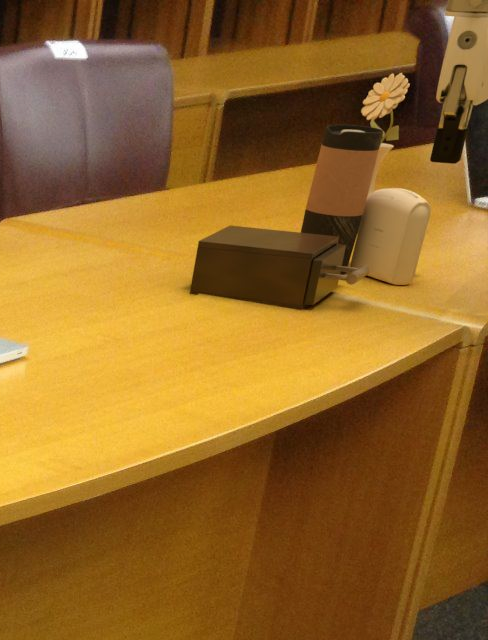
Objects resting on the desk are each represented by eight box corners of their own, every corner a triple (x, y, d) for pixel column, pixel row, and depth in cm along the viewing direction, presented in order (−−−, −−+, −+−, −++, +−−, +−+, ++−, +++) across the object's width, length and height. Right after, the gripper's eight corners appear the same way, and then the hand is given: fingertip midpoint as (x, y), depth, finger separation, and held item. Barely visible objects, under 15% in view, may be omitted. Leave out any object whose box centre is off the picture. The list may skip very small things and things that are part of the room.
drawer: (369, 291, 208) (378, 248, 206) (346, 309, 199) (356, 264, 196) (236, 275, 218) (244, 234, 215) (208, 292, 208) (216, 248, 206)
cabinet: (327, 292, 212) (339, 236, 209) (300, 311, 202) (312, 253, 198) (219, 279, 220) (229, 225, 217) (188, 297, 209) (198, 240, 206)
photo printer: (343, 269, 225) (365, 182, 219) (368, 269, 226) (391, 182, 220) (390, 286, 216) (414, 196, 210) (416, 285, 217) (441, 196, 211)
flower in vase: (311, 222, 260) (349, 65, 248) (382, 226, 258) (424, 68, 246) (328, 237, 249) (368, 74, 237) (403, 242, 247) (447, 77, 235)
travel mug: (345, 268, 226) (381, 126, 217) (349, 279, 220) (387, 134, 211) (289, 263, 229) (323, 122, 219) (292, 274, 222) (327, 130, 213)
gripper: (507, 6, 177) (467, 171, 185) (526, 1, 187) (487, 158, 196) (436, 4, 181) (399, 166, 189) (458, 0, 191) (423, 153, 200)
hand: (444, 161), depth 192 cm, fingers closed
